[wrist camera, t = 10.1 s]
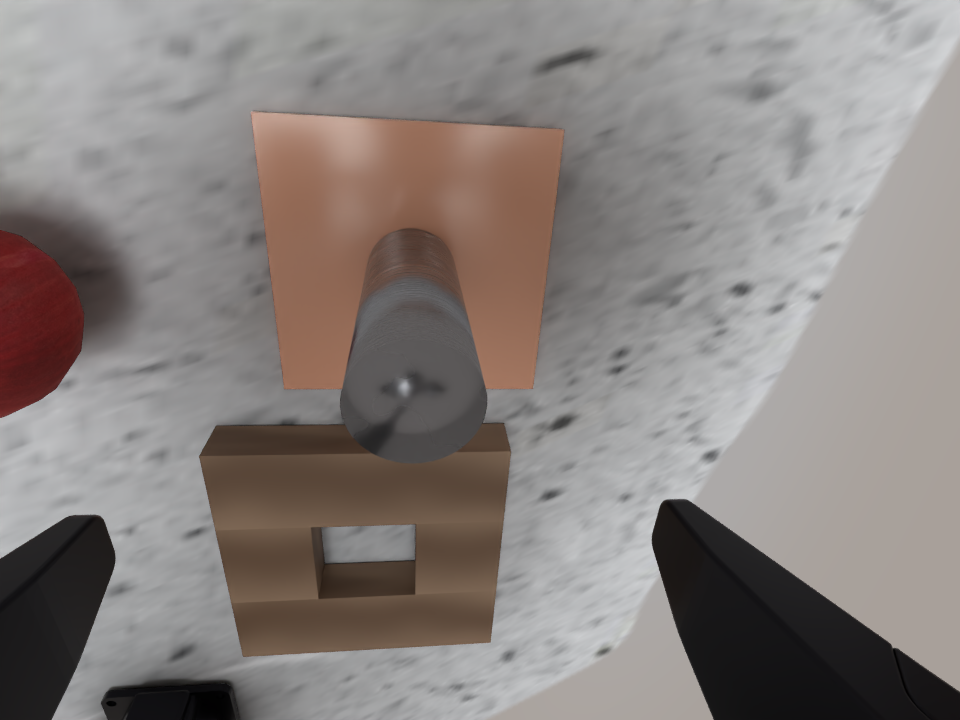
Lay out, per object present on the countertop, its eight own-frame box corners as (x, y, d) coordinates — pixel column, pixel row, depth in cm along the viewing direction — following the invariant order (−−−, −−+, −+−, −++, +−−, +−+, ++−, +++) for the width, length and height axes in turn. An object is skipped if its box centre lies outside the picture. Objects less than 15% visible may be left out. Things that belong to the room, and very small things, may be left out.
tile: (531, 383, 23) (532, 388, 23) (286, 383, 22) (284, 389, 22) (561, 128, 19) (564, 129, 18) (254, 110, 17) (250, 111, 17)
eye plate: (485, 608, 30) (490, 642, 28) (253, 619, 28) (243, 656, 26) (503, 423, 24) (511, 451, 22) (215, 425, 23) (199, 456, 21)
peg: (457, 229, 19) (491, 339, 12) (454, 312, 21) (482, 461, 13) (365, 226, 19) (335, 340, 11) (368, 312, 20) (344, 465, 13)
